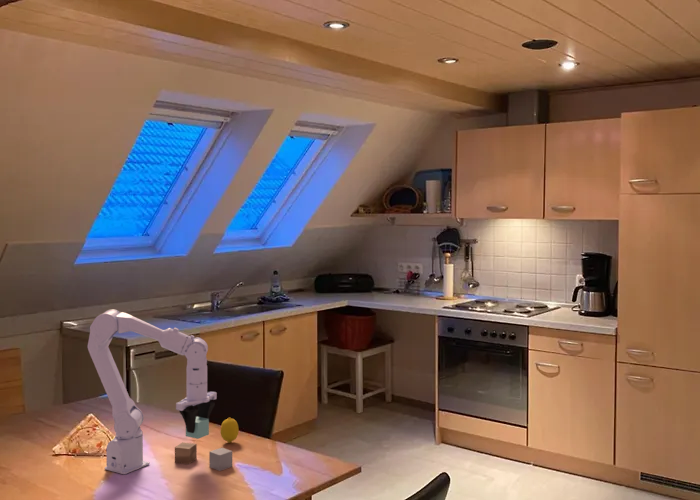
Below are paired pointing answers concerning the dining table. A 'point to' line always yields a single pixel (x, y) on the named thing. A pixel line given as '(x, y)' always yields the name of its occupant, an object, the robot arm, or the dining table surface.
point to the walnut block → (185, 453)
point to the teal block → (199, 428)
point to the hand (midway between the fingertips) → (197, 429)
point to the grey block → (220, 459)
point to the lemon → (229, 430)
